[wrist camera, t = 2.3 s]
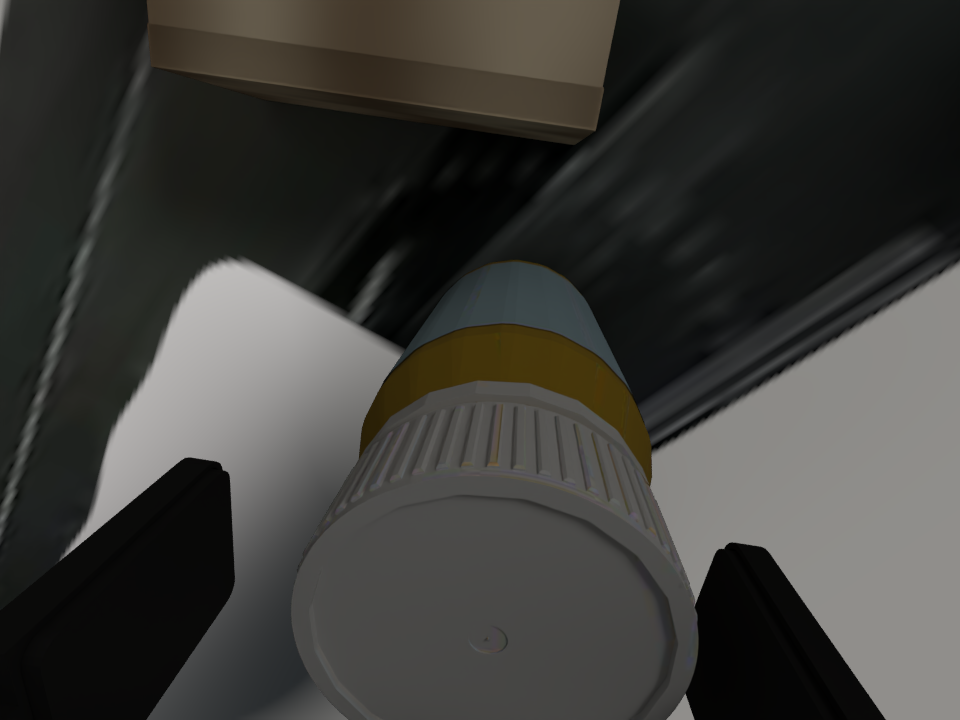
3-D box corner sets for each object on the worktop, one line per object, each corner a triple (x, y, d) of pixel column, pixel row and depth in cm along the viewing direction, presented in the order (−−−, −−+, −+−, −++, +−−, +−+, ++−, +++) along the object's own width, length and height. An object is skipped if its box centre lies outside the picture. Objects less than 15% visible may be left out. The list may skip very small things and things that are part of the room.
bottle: (540, 433, 23) (564, 842, 9) (408, 364, 22) (206, 686, 8) (626, 308, 20) (848, 597, 6) (480, 226, 20) (367, 346, 6)
